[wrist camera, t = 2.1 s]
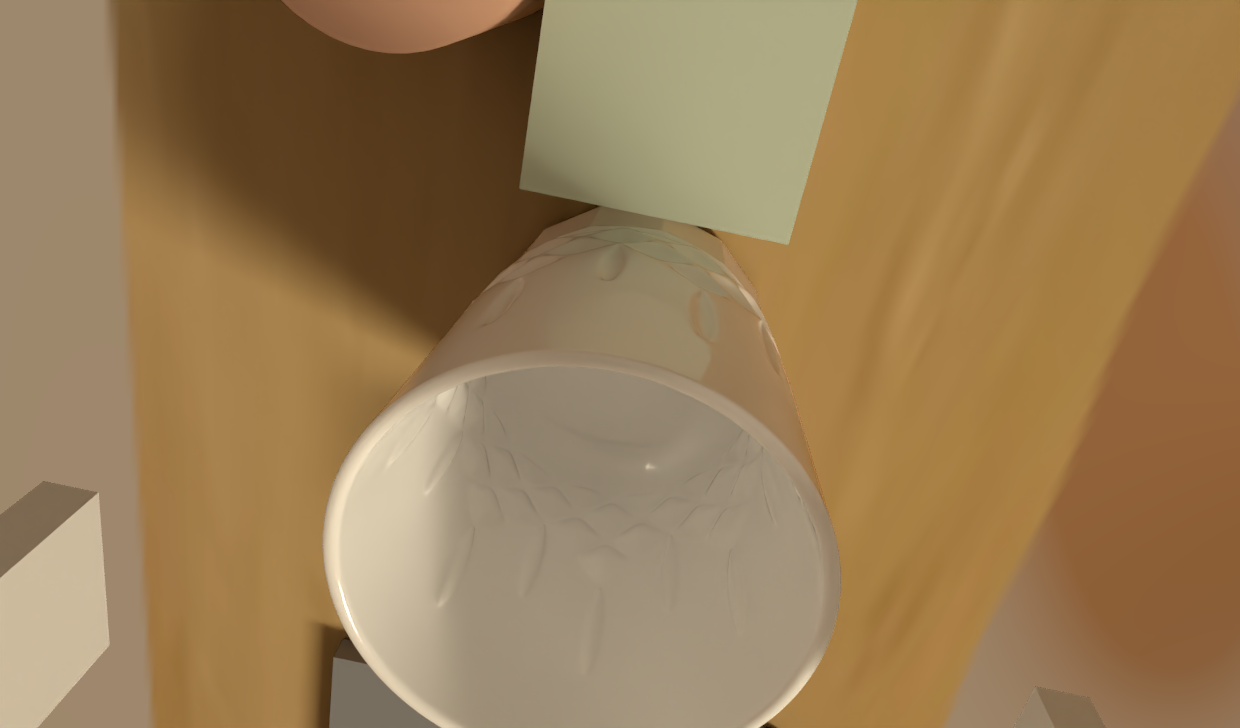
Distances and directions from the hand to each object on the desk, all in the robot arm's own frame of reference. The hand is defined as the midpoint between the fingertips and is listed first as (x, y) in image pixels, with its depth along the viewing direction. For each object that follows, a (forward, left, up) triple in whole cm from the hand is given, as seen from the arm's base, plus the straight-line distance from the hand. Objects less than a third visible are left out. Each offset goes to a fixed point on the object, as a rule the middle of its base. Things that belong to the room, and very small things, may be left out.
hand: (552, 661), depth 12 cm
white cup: (0, 0, -11) cm, 11 cm away
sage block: (-6, -4, -11) cm, 13 cm away
